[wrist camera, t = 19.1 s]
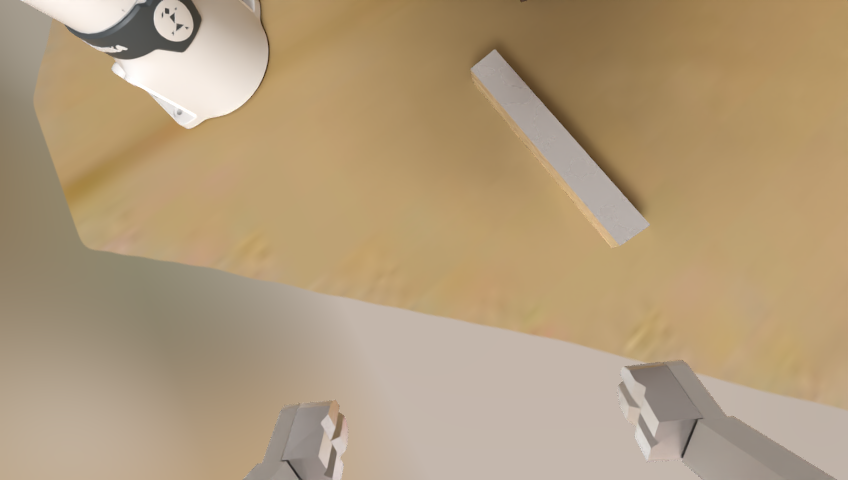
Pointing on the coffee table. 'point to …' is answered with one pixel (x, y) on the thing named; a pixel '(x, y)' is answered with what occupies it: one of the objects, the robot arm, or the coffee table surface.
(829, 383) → the coffee table surface
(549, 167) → the aluminium bar
